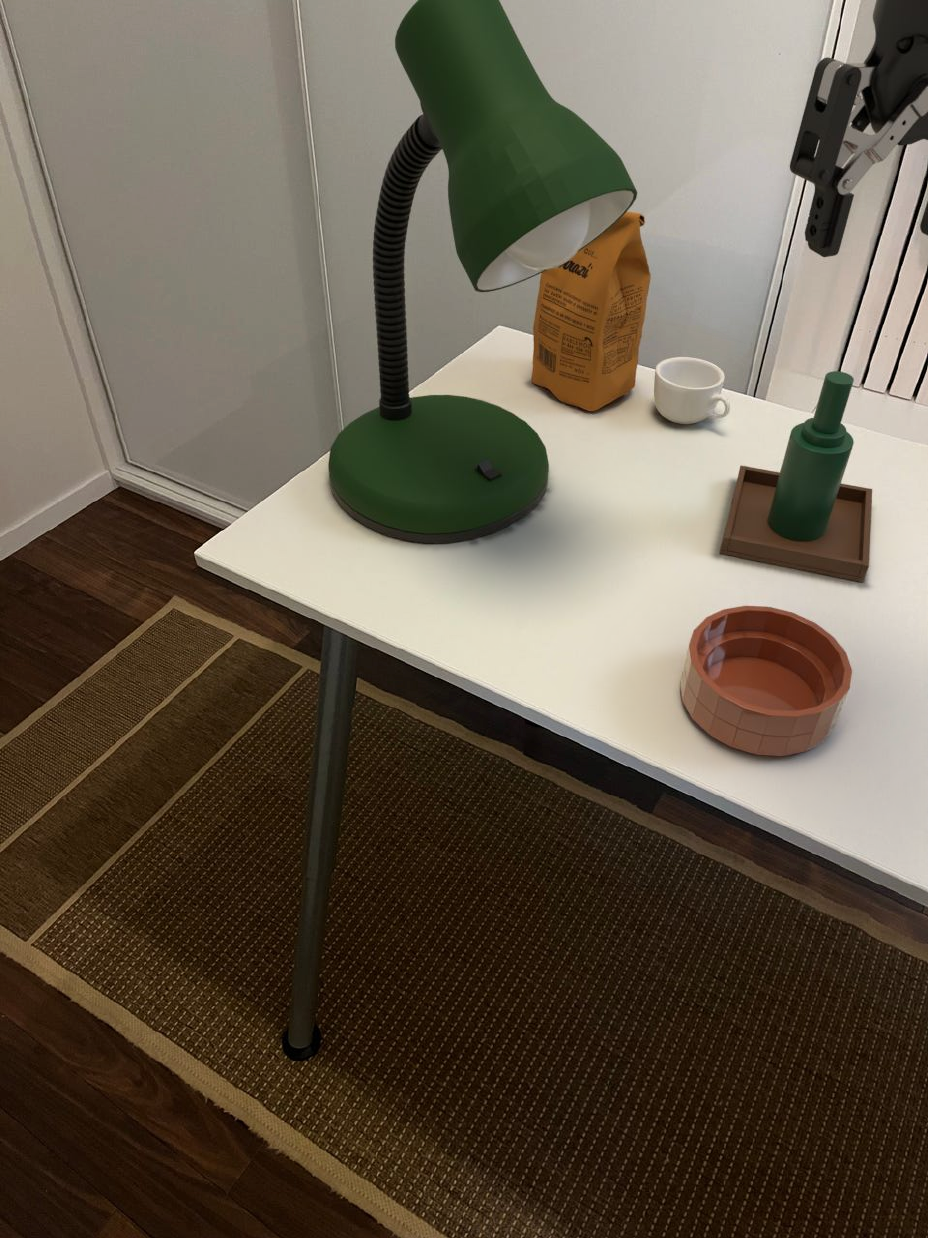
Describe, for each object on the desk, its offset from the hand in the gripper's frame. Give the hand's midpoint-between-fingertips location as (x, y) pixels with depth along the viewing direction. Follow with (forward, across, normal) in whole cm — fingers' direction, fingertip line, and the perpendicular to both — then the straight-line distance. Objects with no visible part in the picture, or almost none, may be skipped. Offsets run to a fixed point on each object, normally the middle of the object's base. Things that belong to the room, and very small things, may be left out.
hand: (879, 243), depth 59 cm
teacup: (+34, +13, +35) cm, 51 cm away
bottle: (+34, +12, +13) cm, 38 cm away
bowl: (+34, -5, -6) cm, 35 cm away
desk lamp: (+34, -17, +30) cm, 48 cm away
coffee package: (+34, +4, +46) cm, 58 cm away
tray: (+34, +12, +13) cm, 38 cm away
